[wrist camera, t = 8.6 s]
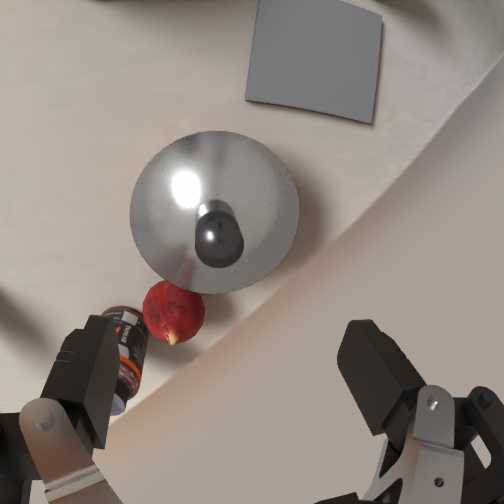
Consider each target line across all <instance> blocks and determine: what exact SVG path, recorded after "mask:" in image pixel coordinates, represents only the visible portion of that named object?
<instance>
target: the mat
mask: <svg viewBox="0 0 504 504" xmlns="http://www.w3.org/2000/svg"><path fill="white" fill-rule="evenodd" d="M381 25H382V16H381V15H379V14H376V13H374V12H371V11H368V10H366V9H363V8H360V7H358V6H355V5H352V4H349V3H346V2H343V1H340V0H259V2H258V8H257V15H256V22H255V29H254V36H253V43H252V50H251V57H250V64H249V72H248V79H247V87H246V95H245V101H254V102H261V103H268V104H275V105H281V106H288V107H294V108H299V109H305V110H310V111H315V112H320V113H325V114H330V115H334V116H339V117H343V118H347V119H352V120H356V121H360V122H364V123H370V124H371V121H372V114H373V107H374V99H375V91H376V83H377V74H378V64H379V53H380V40H381Z"/></svg>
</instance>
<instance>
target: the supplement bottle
mask: <svg viewBox="0 0 504 504" xmlns="http://www.w3.org/2000/svg"><path fill="white" fill-rule="evenodd" d="M101 316H112V317H113V318H114V322H115V328H116V334H117V340H118V346H119V352H120V369H119V374H118V378H117V383H116V388H115V392H114V397H113V402H112V408H111V413H110V416H116V415H120V414H121V413H123V412H124V411H125V408H126V403H127V400H129V399H131V398H133V397H134V396H135V395H136V394H137V392H138V390H139V387H140V382H141V376H142V370H143V364H144V358H145V352H146V347H147V341H148V335H149V330H148V327H147V325H146V324H145V322H144V318H143V317H142V316H141V315H140V314H138V313H137V312H136V311H134V310H132V309H129V308H126V307H112V308H109V309H107V310H106V311H104V312H103V314H102V315H101Z"/></svg>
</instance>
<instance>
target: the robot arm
mask: <svg viewBox="0 0 504 504" xmlns="http://www.w3.org/2000/svg"><path fill="white" fill-rule="evenodd" d="M337 364H338V368H339V370H340V372H341V374H342V376H343V378H344V379H345V382H346V383H347V386H348V388H349V389H350V391H351V393H352V395H353V397H354V399H355V401H356V403H357V405H358V407H359V409H360V411H361V413H362V415H363V417H364V419H365V421H366V423H367V425H368V427H369V428H370V431H371V433H372V435H373V436H375V435H379V434H382V433H386V435H387V438H386V440H385V441H384V444H383V448H382V451H381V455H380V458H379V462H378V465H377V469H376V472H375V476H374V478H373V481H372V484H371V486H370V488H369V489H368V491H367V492H366V494H365V495H364V497H363V499H362V500H359V499H358V496H357V494H356V492H354V493H350V494H347V495H343V496H339V497H335V498H331V499H327V500H322V501H319V502H317V503H315V504H504V405H503V404H502V402H501V401H500V400H499V398H498V397H497V395H496V394H495V393H494V392H493V391H492V390H490V389H488V388H486V387H482V386H478V387H475V388H474V389H473V390H472V391H471V392H470V394H469V395H468V397H467V398H455V397H454V398H453V397H452V396H451V395H450V394H449V392H448V391H446V390H445V389H443V388H442V387H439V386H436V385H427V384H426V383H425V381H424V380H423V379H422V377H421V376H420V374H419V373H418V372H417V370H416V369H415V368H414V366H413V365H412V364H411V362H410V361H409V360H408V359H406V356H405V354H404V353H403V352H402V351H401V349H400V348H399V346H398V345H397V344H396V342H395V341H394V340H393V339H392V338H390V337H389V336H388V335H386V334H385V333H384V332H381V331H380V330H379V328H378V327H377V326H376V324H375V323H374V322H373V321H372V320H370V319H366V320H352V321H350V322H349V324H348V326H347V329H346V331H345V335H344V337H343V340H342V343H341V345H340V348H339V351H338V355H337ZM119 369H120V352H119V346H118V340H117V334H116V328H115V322H114V318H113V317H112V316H100V315H90V316H89V318H88V321H87V323H86V325H85V327H84V329H75V330H74V331H72V332H71V333H70V334H69V335H68V336H67V337H66V338H65V340H64V342H63V344H62V346H61V349H60V352H59V353H58V355H57V357H56V361H55V362H54V364H53V367H52V369H51V371H50V374H49V376H48V379H47V381H46V384H45V386H44V389H43V391H42V394H41V396H40V398H38V399H34V400H32V401H30V402H28V403H27V404H26V405H25V406H24V407H23V408H22V410H21V412H19V413H0V504H29V499H30V491H31V484H32V480H43V483H44V484H45V487H46V491H45V496H46V499H47V501H48V503H49V504H123V503H122V502H121V500H120V499H119V498H118V496H117V495H116V494H115V492H114V491H113V489H112V488H111V487H110V485H109V484H108V482H107V481H106V479H105V478H104V476H103V475H102V473H101V472H100V471H99V469H98V468H97V466H96V465H95V463H94V462H93V460H92V454H93V448H97V449H105V442H106V436H107V429H108V424H109V418H110V413H111V408H112V402H113V397H114V392H115V388H116V383H117V378H118V374H119ZM478 434H479V436H480V437H481V439H482V440H483V442H484V444H485V445H486V447H487V449H488V450H489V452H490V454H491V463H490V465H489V466H488V467H487V468H486V469H485V468H484V466H483V464H482V463H481V461H480V459H479V457H478V455H477V454H476V452H475V450H474V448H473V447H472V445H471V442H472V441H473V440H474V439H475V438H476V436H477V435H478Z"/></svg>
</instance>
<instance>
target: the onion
mask: <svg viewBox="0 0 504 504" xmlns="http://www.w3.org/2000/svg"><path fill="white" fill-rule="evenodd" d="M204 315H205V306H204V303H203V301H202V298H201V295H200V294H199V293H198V292H193V291H189V290H186V289H183V288H180V287H178V286H176V285H174V284H172V283H170V282H168V281H167V280H165V281H161V282H159V283H157V284H156V285H155V286H153V287H152V288H150V290H149V292H148V294H147V296H146V298H145V300H144V302H143V317H144V322H145V324H146V325H147V327H148V329H149V331H150V332H151V334H153V335H154V336H155V337H156V338H158V339H159V340H161V341H163V342H166V343H168V344H169V345H170V346H174V345H176V344H178V343H181V342H185V341H187V340H189V339H190V338H192V337H193V336H195V335H196V333H197V332H198V330H199V329H200V328H201V326H202V324H203V321H204Z"/></svg>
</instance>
